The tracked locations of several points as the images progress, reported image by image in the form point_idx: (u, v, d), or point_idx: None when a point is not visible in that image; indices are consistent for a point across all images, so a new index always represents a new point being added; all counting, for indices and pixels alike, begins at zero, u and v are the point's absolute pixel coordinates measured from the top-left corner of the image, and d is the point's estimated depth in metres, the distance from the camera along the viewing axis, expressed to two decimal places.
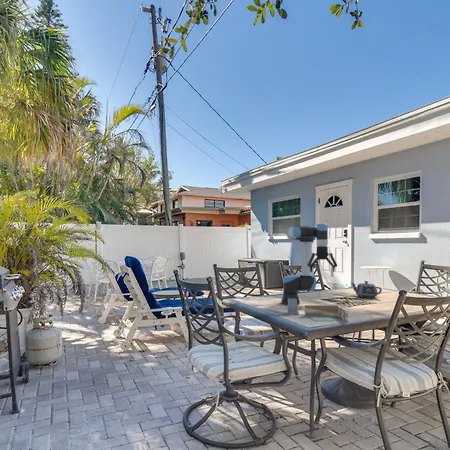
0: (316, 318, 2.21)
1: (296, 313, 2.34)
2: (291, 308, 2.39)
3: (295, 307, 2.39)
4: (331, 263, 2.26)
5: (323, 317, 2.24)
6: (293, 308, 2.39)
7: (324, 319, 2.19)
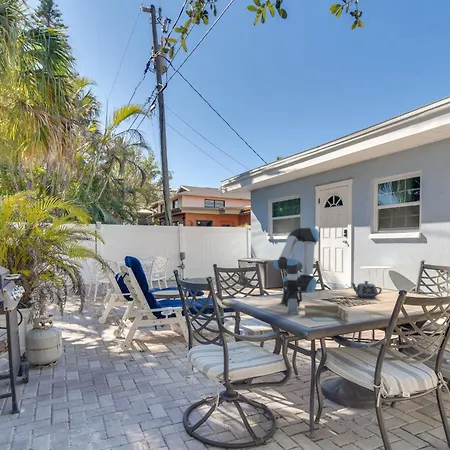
0: (316, 318, 2.21)
1: (296, 313, 2.34)
2: (291, 308, 2.39)
3: (295, 307, 2.39)
4: (297, 298, 2.40)
5: (323, 317, 2.24)
6: (293, 308, 2.39)
7: (324, 319, 2.19)
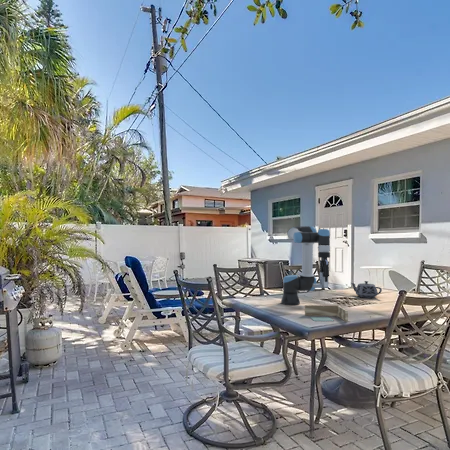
0: (316, 318, 2.21)
1: (314, 286, 2.20)
2: (320, 282, 2.23)
3: (321, 281, 2.20)
4: (324, 272, 2.19)
5: (323, 317, 2.24)
6: (321, 282, 2.22)
7: (324, 319, 2.19)
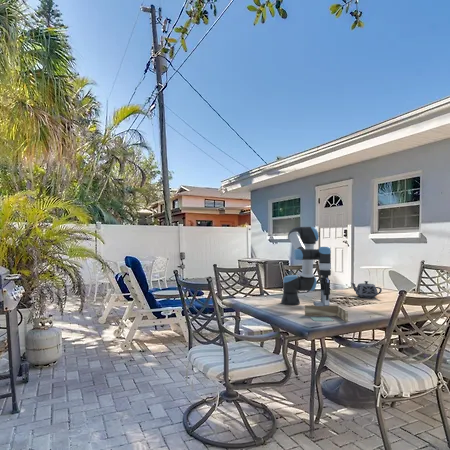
0: (316, 318, 2.21)
1: (315, 304, 2.20)
2: (321, 300, 2.22)
3: (322, 299, 2.19)
4: None
5: (323, 317, 2.24)
6: (322, 300, 2.21)
7: (324, 319, 2.19)
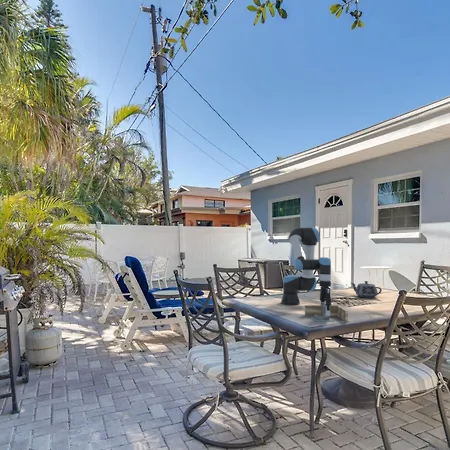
0: None
1: (315, 318, 2.19)
2: (321, 313, 2.22)
3: (322, 313, 2.19)
4: (325, 300, 2.16)
5: None
6: (322, 313, 2.20)
7: None
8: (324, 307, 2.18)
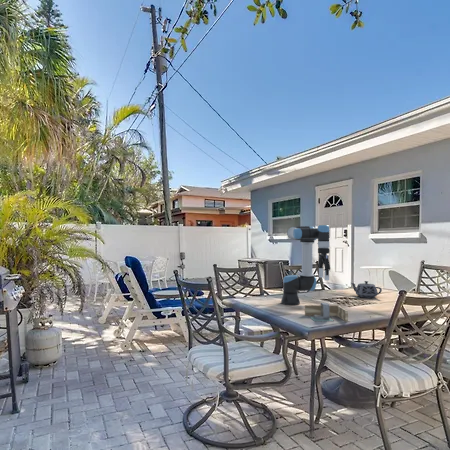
0: None
1: (315, 318, 2.19)
2: (321, 313, 2.22)
3: (322, 313, 2.19)
4: (324, 265, 2.19)
5: None
6: (322, 313, 2.20)
7: None
8: (324, 307, 2.18)
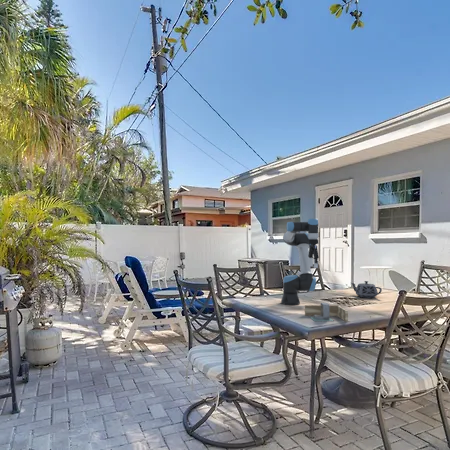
0: None
1: (315, 318, 2.19)
2: (321, 313, 2.22)
3: (322, 313, 2.19)
4: None
5: None
6: (322, 313, 2.20)
7: None
8: (324, 307, 2.18)
